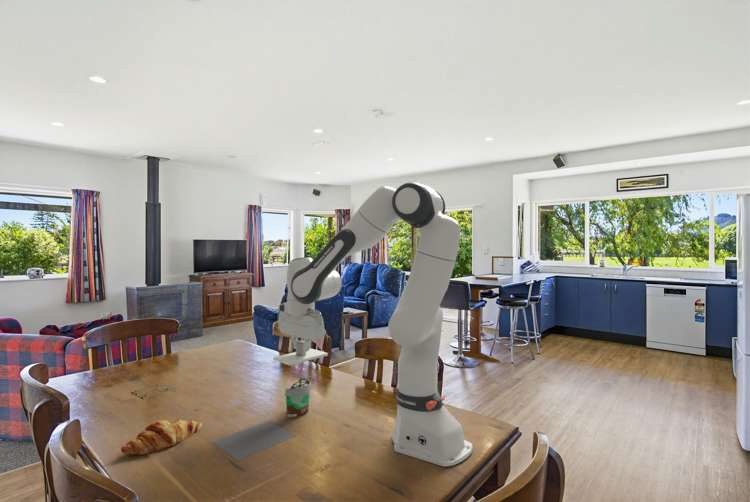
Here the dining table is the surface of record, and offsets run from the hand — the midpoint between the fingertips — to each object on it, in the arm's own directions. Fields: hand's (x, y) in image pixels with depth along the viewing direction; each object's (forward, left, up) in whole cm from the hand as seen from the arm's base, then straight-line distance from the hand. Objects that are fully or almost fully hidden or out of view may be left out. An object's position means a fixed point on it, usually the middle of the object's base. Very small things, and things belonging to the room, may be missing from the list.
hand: (301, 349), depth 130 cm
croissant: (+12, +38, -22) cm, 45 cm away
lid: (0, 0, -3) cm, 2 cm away
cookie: (+57, +26, -22) cm, 66 cm away
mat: (-5, +20, -21) cm, 29 cm away
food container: (0, 0, -21) cm, 21 cm away
